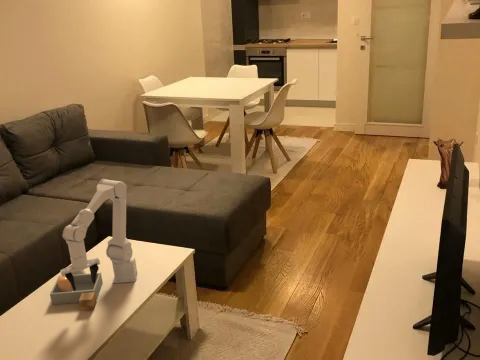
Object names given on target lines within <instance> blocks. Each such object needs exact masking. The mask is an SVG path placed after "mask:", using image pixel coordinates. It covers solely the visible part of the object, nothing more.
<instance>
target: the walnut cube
mask: <svg viewBox="0 0 480 360" xmlns="http://www.w3.org/2000/svg"><path fill="white" fill-rule="evenodd" d="M78 304H79V308H80V311H81V312H86V311H87V312H89V311H95V308H96V306H97V301H96V296H95V292H89V293H82V294H81V297H80V299H79V303H78Z"/></svg>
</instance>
